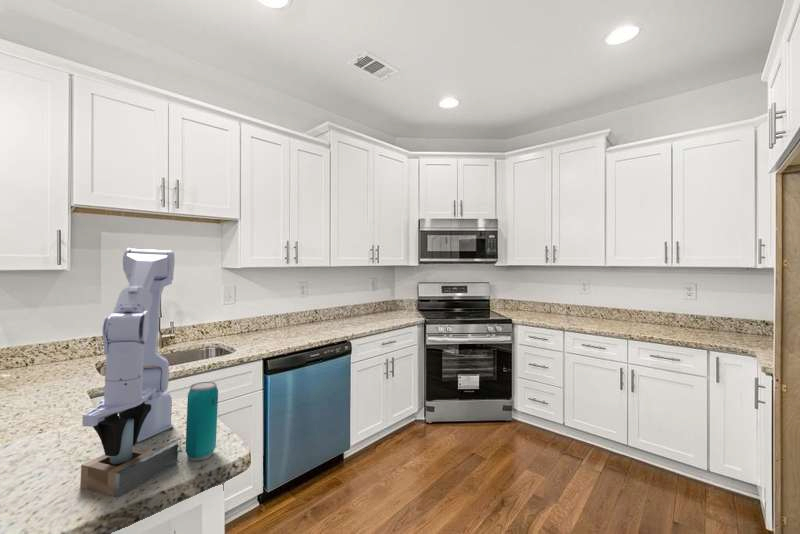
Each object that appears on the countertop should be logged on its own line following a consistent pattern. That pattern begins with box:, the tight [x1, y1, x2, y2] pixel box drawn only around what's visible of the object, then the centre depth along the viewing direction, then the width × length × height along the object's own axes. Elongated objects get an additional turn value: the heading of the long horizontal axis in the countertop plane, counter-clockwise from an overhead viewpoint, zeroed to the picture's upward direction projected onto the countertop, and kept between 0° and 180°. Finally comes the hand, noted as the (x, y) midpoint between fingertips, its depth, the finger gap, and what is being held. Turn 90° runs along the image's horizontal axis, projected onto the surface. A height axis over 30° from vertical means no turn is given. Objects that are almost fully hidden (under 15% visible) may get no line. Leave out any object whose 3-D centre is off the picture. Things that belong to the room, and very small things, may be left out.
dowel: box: [109, 418, 134, 464], centre depth 69 cm, size 3×3×7 cm
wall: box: [114, 442, 179, 498], centre depth 70 cm, size 12×1×4 cm, turn 165°
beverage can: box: [185, 381, 219, 462], centre depth 79 cm, size 6×6×15 cm
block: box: [79, 446, 157, 497], centre depth 69 cm, size 8×8×4 cm
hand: (120, 449), depth 69 cm, fingers closed on dowel, 3 cm apart
